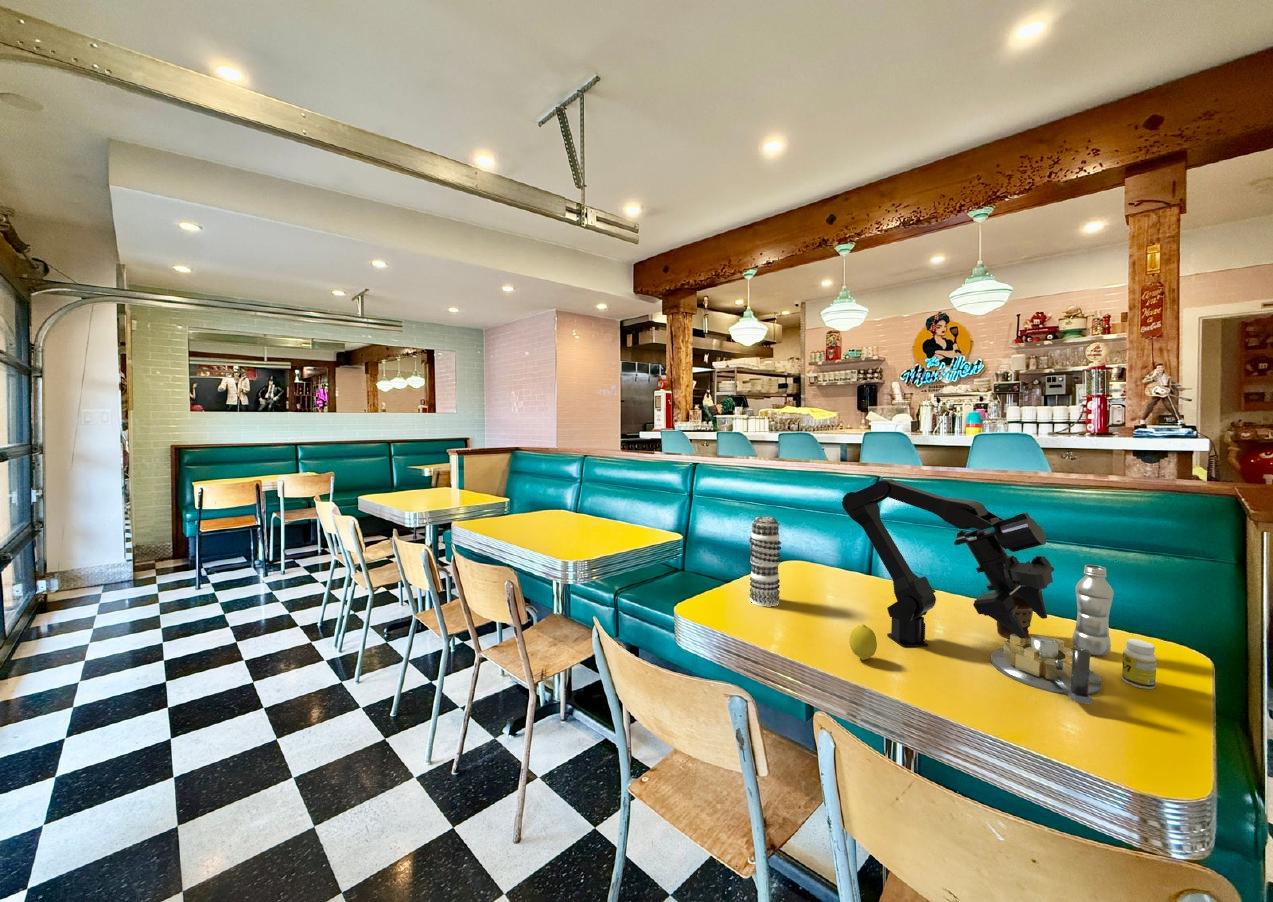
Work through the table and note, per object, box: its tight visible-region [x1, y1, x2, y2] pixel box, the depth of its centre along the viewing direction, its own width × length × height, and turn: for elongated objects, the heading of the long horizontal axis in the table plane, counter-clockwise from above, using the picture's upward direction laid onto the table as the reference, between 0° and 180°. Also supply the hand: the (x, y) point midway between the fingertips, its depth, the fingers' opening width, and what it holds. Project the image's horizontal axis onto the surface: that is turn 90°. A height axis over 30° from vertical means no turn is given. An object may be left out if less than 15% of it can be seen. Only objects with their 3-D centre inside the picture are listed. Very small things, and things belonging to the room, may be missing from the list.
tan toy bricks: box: [1003, 634, 1093, 705], centre depth 100 cm, size 22×13×10 cm, turn 161°
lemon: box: [848, 623, 878, 661], centre depth 109 cm, size 6×6×8 cm
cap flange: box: [990, 634, 1103, 696], centre depth 104 cm, size 18×18×7 cm
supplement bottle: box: [1121, 638, 1158, 690], centre depth 99 cm, size 5×5×8 cm
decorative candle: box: [748, 516, 782, 608], centre depth 145 cm, size 9×9×25 cm
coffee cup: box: [993, 590, 1034, 639], centre depth 122 cm, size 9×8×13 cm
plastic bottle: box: [1072, 564, 1115, 657], centre depth 112 cm, size 6×7×20 cm
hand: (1034, 627), depth 101 cm, fingers open, 9 cm apart
